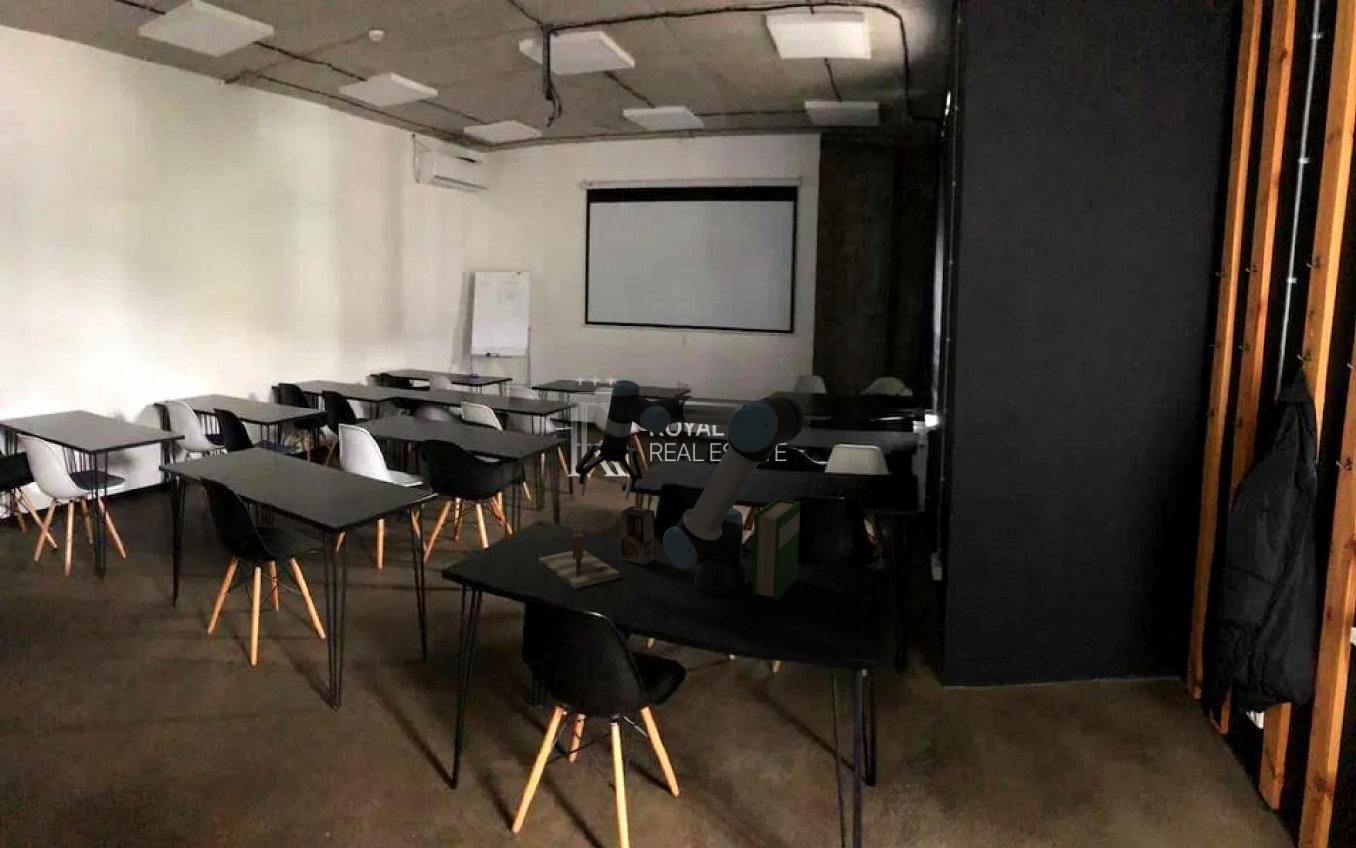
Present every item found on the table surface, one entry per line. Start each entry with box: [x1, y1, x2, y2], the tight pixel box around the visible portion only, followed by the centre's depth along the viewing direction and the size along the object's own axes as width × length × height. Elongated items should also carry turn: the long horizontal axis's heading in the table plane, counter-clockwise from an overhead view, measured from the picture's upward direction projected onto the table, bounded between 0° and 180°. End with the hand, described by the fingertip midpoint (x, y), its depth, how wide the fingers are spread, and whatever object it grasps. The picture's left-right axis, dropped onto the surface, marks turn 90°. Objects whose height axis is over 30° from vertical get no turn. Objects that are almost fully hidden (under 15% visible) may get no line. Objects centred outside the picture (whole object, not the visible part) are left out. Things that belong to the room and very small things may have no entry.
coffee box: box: [619, 505, 656, 566], centre depth 241 cm, size 9×6×16 cm
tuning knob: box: [572, 527, 585, 574], centre depth 230 cm, size 12×3×10 cm, turn 6°
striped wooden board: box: [538, 550, 621, 589], centre depth 233 cm, size 24×15×2 cm, turn 36°
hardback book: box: [751, 497, 801, 602], centre depth 220 cm, size 18×7×24 cm, turn 153°
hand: (604, 495), depth 232 cm, fingers open, 13 cm apart
